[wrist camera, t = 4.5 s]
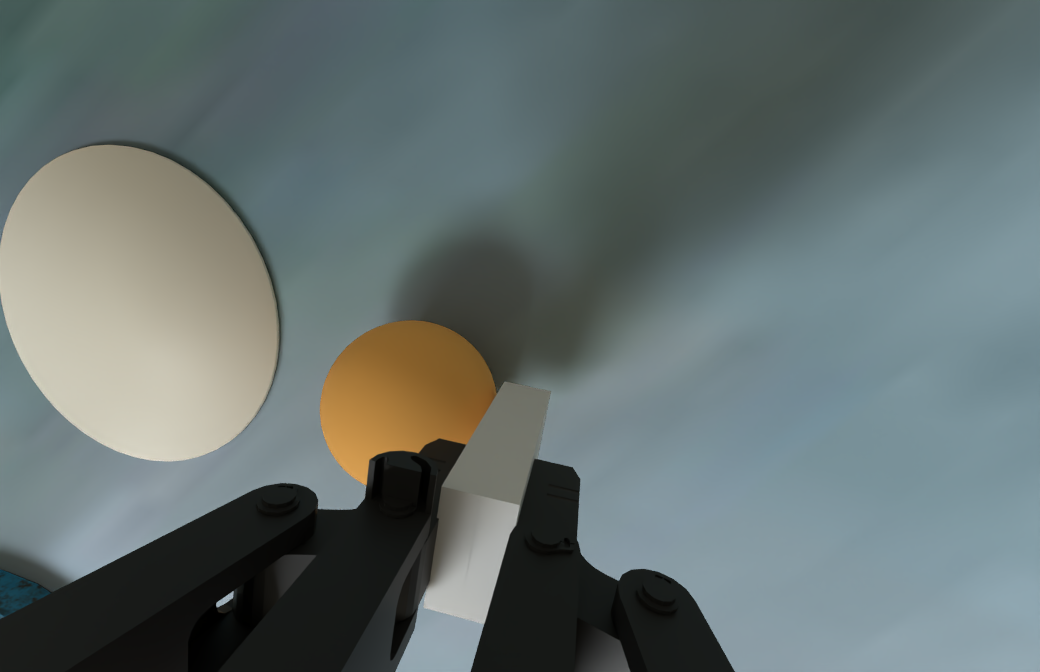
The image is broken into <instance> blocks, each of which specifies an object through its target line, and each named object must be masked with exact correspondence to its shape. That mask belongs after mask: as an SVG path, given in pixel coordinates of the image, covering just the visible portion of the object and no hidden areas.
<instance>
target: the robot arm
mask: <svg viewBox="0 0 1040 672" xmlns="http://www.w3.org/2000/svg"><path fill="white" fill-rule="evenodd" d="M550 394H551V391H547V390H543V389H538V388H533V387H529V386H524V385H519V384H515V383H510V382H505V381H504V383H503V385H502V386H501V388H500V390H499V391H498V393H497V395H496V396H495V398H494V400H493V401H492V403H491V405H490V406H489V408H488V410H487V411H486V413H485V415H484V416H483V418H482V420H481V421H480V423H479V425H478V426H477V428H476V430H475V431H474V433H473V435H472V436H471V438H470V440H469V441H468V443H467V445H466V444H462V443H457V442H453V441H449V440H444V439H440V438H439V439H437V440H435V441H433V442H430V443H428V444H426V445H425V446H424V447H423V448H422V449H421V451H420V452H419V453H416V452H410V451H388V452H385V453H381V454H377V455H376V456H374V457H373V458H371V459H370V460H369V467H368V476H367V485H366V495H365V499H364V500H363V502H362V503H361V504H360V505H359V506H358V507H357V509H353V510H325V509H318V499H317V496H316V494H315V493H314V492H313V491H311V490H310V489H309V488H307V487H304V486H300V485H297V484H289V483H288V484H287V483H279V484H274V485H267V486H264V487H261V488H258V489H255V490H253V491H251V492H249V493H247V494H245V495H243V496H241V497H239V498H237V499H235V500H233V501H231V502H229V503H227V504H225V505H223V506H221V507H219V508H217V509H215V510H213V511H211V512H209V513H207V514H205V515H204V516H202V517H200V518H198V519H196V520H194V521H192V522H190V523H188V524H186V525H184V526H182V527H180V528H178V529H176V530H174V531H172V532H170V533H168V534H166V535H164V536H162V537H160V538H158V539H156V540H154V541H153V542H151V543H149V544H147V545H145V546H143V547H141V548H139V549H137V550H135V551H133V552H131V553H129V554H127V555H125V556H123V557H121V558H119V559H117V560H115V561H113V562H111V563H109V564H107V565H105V566H103V567H101V568H100V569H98V570H96V571H94V572H92V573H90V574H88V575H86V576H84V577H82V578H80V579H78V580H76V581H74V582H72V583H70V584H68V585H66V586H64V587H62V588H60V589H58V590H56V591H54V592H52V593H50V594H49V595H47V596H45V597H43V598H41V599H39V600H37V601H35V602H33V603H31V604H29V605H27V606H25V607H23V608H21V609H19V610H17V611H15V612H13V613H11V614H9V615H7V616H5V617H3V618H1V619H0V672H395V671H396V669H397V667H398V664H399V662H400V660H401V658H402V655H403V653H404V651H405V649H406V647H407V644H408V642H409V640H410V638H411V635H412V633H413V631H414V628H415V623H416V618H417V611H418V605H419V603H420V601H421V599H422V597H423V594H424V592H425V590H426V594H425V601H424V608H427V609H430V610H434V611H438V612H441V613H445V614H449V615H452V616H456V617H460V618H464V619H467V620H471V621H475V622H478V623H482V624H484V627H483V631H482V634H481V638H480V641H479V645H478V648H477V652H476V655H475V659H474V662H473V666H472V669H471V672H735V671H734V670H733V668H732V666H731V664H730V662H729V661H728V659H727V657H726V655H725V653H724V652H723V650H722V648H721V646H720V644H719V643H718V641H717V639H716V637H715V636H714V634H713V632H712V630H711V628H710V627H709V625H708V623H707V621H706V619H705V618H704V616H703V614H702V612H701V610H700V609H699V607H698V605H697V603H696V601H695V600H694V599H693V597H692V596H691V595H690V594H689V592H688V591H687V590H686V589H685V588H684V587H683V586H682V585H680V584H679V583H678V582H676V581H675V580H674V579H672V578H670V577H668V576H666V575H664V574H661V573H659V572H656V571H651V570H647V569H636V570H630V571H628V572H626V573H624V574H623V575H622V576H621V578H620V580H619V581H617V580H615V579H613V578H611V577H609V576H607V575H605V574H604V573H602V572H600V571H599V570H597V569H595V568H594V567H593V566H592V565H591V564H589V563H588V562H587V561H586V560H585V558H584V557H583V556H582V555H581V553H580V548H579V544H578V541H577V526H578V509H579V491H580V478H579V477H578V475H577V473H576V472H575V470H574V469H573V467H569V466H564V465H560V464H555V463H551V462H547V461H542V460H538V454H539V449H540V444H541V439H542V434H543V429H544V424H545V419H546V414H547V409H548V404H549V399H550ZM232 591H234V595H233V599H231V600H230V601H228V602H227V603H226V604H224V605H222V606H220V607H216V602H218V601H219V600H221V599H222V598H224V597H225V596H227V595H228V594H229V593H231V592H232Z"/></svg>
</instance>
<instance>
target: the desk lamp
mask: <svg viewBox="0 0 1040 672" xmlns="http://www.w3.org/2000/svg"><path fill="white" fill-rule="evenodd" d="M49 594H50V592H49V591H47V590H46V589H44V588H43V587H41V586H40V585H38V584H36V583H34V582H31V581H29V580H26V579H24V578H21V577H19V576H16V575H14V574H11V573H9V572H6V571H3V570H0V619H1V618H3V617H5V616H7V615H9V614H11V613H13V612H15V611H17V610H19V609H21V608H23V607H25V606H27V605H29V604H31V603H33V602H35V601H37V600H39V599H41V598H43V597H45V596H47V595H49Z"/></svg>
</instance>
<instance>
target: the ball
mask: <svg viewBox="0 0 1040 672" xmlns="http://www.w3.org/2000/svg"><path fill="white" fill-rule="evenodd" d="M496 395H497V394H496V389H495V383H494V380H493V377H492V374H491V372H490V370H489V368H488V366H487V364H486V362H485V360H484V359H483V357H482V356H481V355H480V353H479V352H478V351H477V350H476V349H475V348H474V346H473V345H472V344H471V343H469V342H468V341H467V340H466V339H465V338H464V337H462V336H461V335H459V334H458V333H456V332H454V331H452V330H450V329H448V328H446V327H444V326H441V325H438V324H435V323H430V322H425V321H415V320H409V321H398V322H393V323H388V324H385V325H382V326H379V327H376V328H374V329H372V330H370V331H368V332H366V333H364V334H363V335H361V336H360V337H358V338H357V339H355V340H354V341H353V342H352V343H351V344H350V345H348V346H347V347H346V348H345V350H344V351H343V352H342V353H341V354H340V355H339V356H338V358H337V359H336V361H335V362H334V364H333V365H332V367H331V369H330V371H329V373H328V375H327V377H326V380H325V383H324V386H323V390H322V395H321V402H320V418H321V427H322V430H323V434H324V438H325V441H326V443H327V445H328V447H329V449H330V451H331V453H332V454H333V456H334V458H335V459H336V461H337V462H338V463H339V464H340V465H341V467H342V468H343V469H344V470H345V471H346V472H347V473H349V474H350V475H351V476H352V477H353V478H355V479H356V480H358V481H359V482H361V483H363V484H364V485H367V476H368V467H369V460H370V459H371V458H373V457H374V456H376V455H377V454H381V453H385V452H388V451H410V452H416V453H419V452H420V451H421V449H422V448H423V447H424V446H425V445H426V444H428V443H430V442H433V441H435V440H437V439H439V438H440V439H444V440H449V441H453V442H457V443H462V444H466V445H467V443H468V441H469V440H470V438H471V436H472V435H473V433H474V431H475V430H476V428H477V426H478V425H479V423H480V421H481V420H482V418H483V416H484V415H485V413H486V411H487V410H488V408H489V406H490V405H491V403H492V401H493V400H494V398H495V396H496Z"/></svg>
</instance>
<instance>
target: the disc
mask: <svg viewBox="0 0 1040 672" xmlns="http://www.w3.org/2000/svg"><path fill="white" fill-rule="evenodd" d="M0 294H1V301H2V306H3V311H4V315H5V319H6V323H7V326H8V329H9V332H10V335H11V337H12V340H13V343H14V345H15V347H16V349H17V352H18V354H19V356H20V358H21V360H22V362H23V364H24V365H25V367H26V369H27V371H28V372H29V374H30V376H31V378H32V379H33V380H34V382H35V383H36V385H37V386H38V387H39V389H40V390H41V392H42V393H43V394H44V396H45V397H46V398H47V399H48V400H49V401H50V402H51V404H52V405H53V406H54V407H55V408H56V409H57V410H58V411H59V412H60V413H61V414H62V415H63V416H64V417H65V418H66V419H67V420H68V421H69V422H70V423H72V424H73V425H74V426H76V427H77V428H78V429H80V430H81V431H82V432H83V433H85V434H86V435H88V436H89V437H91V438H93V439H94V440H96V441H98V442H99V443H101V444H103V445H105V446H107V447H109V448H111V449H113V450H115V451H118V452H121V453H124V454H127V455H130V456H133V457H136V458H141V459H146V460H152V461H180V460H187V459H191V458H195V457H200V456H202V455H205V454H207V453H209V452H212V451H214V450H216V449H218V448H220V447H221V446H223V445H225V444H226V443H228V442H230V441H231V440H233V439H234V438H235V437H236V436H237V435H238V434H240V433H241V432H242V431H243V430H244V429H245V428H246V427H247V426H248V425H249V423H250V422H251V421H252V420H253V419H254V417H255V416H256V415H257V413H258V411H259V410H260V408H261V406H262V405H263V403H264V401H265V400H266V397H267V395H268V392H269V390H270V387H271V385H272V382H273V378H274V374H275V370H276V367H277V360H278V352H279V318H278V310H277V302H276V298H275V294H274V290H273V286H272V282H271V279H270V276H269V273H268V270H267V268H266V265H265V262H264V260H263V257H262V255H261V253H260V251H259V249H258V247H257V245H256V243H255V241H254V239H253V238H252V236H251V234H250V233H249V231H248V230H247V228H246V227H245V225H244V224H243V222H242V221H241V219H240V218H239V216H238V215H237V214H236V213H235V212H234V210H233V209H232V208H231V207H230V205H229V204H228V203H227V202H226V201H225V200H224V199H223V198H222V197H221V196H220V195H219V194H218V193H217V192H216V191H215V190H214V189H213V188H212V187H211V186H210V185H209V184H208V183H206V182H205V181H204V180H202V179H201V178H200V177H198V176H197V175H196V174H194V173H193V172H192V171H190V170H189V169H187V168H185V167H183V166H182V165H180V164H178V163H176V162H175V161H173V160H171V159H168V158H166V157H163V156H161V155H159V154H156V153H154V152H150V151H146V150H142V149H138V148H134V147H128V146H118V145H98V146H89V147H85V148H81V149H77V150H73V151H71V152H68V153H66V154H64V155H61V156H59V157H57V158H55V159H54V160H52V161H51V162H49V163H48V164H46V165H45V166H44V167H42V168H41V169H40V170H39V171H38V172H37V173H36V174H35V175H34V176H33V177H32V178H31V179H30V180H29V181H28V182H27V184H26V185H25V186H24V188H23V189H22V190H21V192H20V193H19V195H18V196H17V198H16V200H15V202H14V204H13V206H12V208H11V210H10V212H9V215H8V218H7V221H6V223H5V226H4V231H3V235H2V240H1V244H0Z"/></svg>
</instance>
